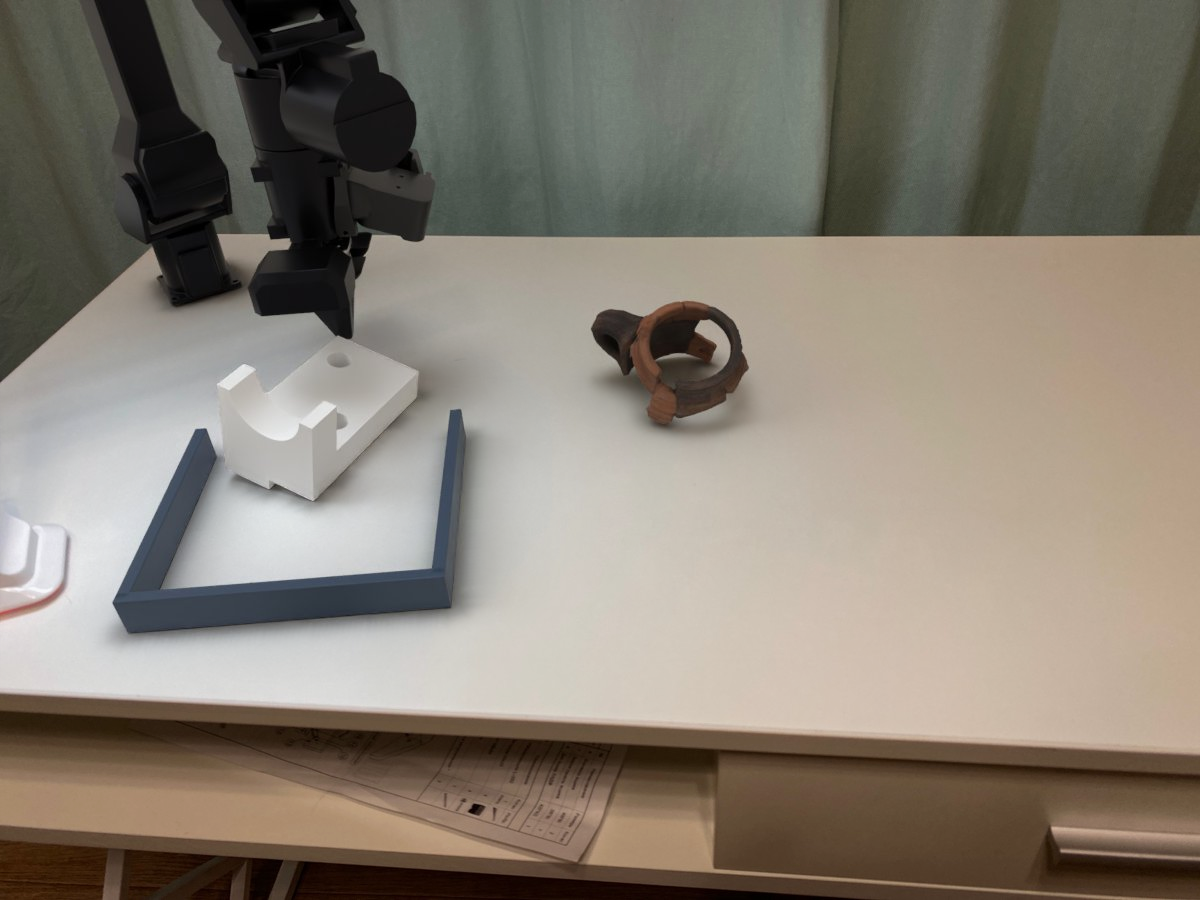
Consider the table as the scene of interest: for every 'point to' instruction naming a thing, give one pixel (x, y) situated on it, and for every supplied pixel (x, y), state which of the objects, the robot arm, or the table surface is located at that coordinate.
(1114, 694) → the table surface
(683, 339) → the pottery mug
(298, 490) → the bracket
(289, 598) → the open blue frame
